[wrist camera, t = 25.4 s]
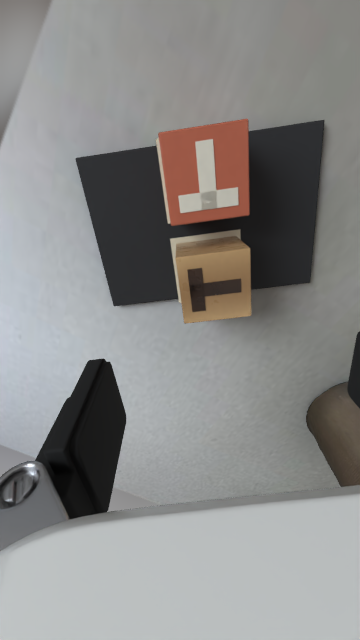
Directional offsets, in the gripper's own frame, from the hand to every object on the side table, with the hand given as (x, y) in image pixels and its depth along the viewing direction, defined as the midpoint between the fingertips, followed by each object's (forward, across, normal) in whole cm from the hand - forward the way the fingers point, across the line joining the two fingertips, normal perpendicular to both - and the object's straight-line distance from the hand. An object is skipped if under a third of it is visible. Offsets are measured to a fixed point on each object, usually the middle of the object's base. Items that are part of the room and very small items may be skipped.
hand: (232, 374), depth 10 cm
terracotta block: (+15, -1, -7) cm, 16 cm away
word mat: (+15, -1, -4) cm, 16 cm away
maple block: (+15, -1, 0) cm, 15 cm away
